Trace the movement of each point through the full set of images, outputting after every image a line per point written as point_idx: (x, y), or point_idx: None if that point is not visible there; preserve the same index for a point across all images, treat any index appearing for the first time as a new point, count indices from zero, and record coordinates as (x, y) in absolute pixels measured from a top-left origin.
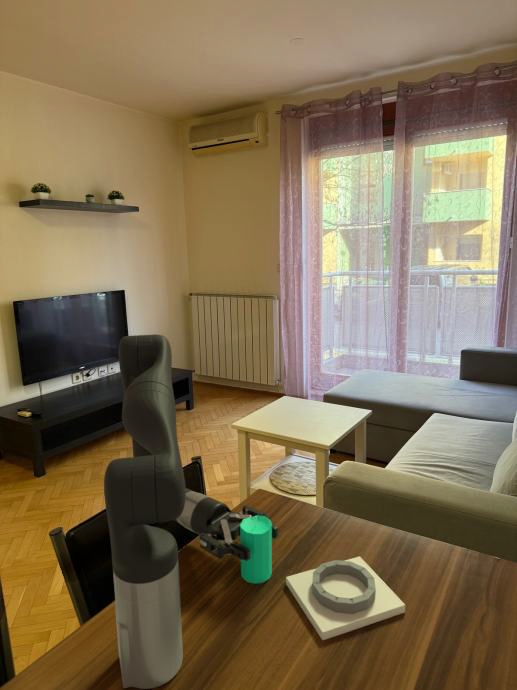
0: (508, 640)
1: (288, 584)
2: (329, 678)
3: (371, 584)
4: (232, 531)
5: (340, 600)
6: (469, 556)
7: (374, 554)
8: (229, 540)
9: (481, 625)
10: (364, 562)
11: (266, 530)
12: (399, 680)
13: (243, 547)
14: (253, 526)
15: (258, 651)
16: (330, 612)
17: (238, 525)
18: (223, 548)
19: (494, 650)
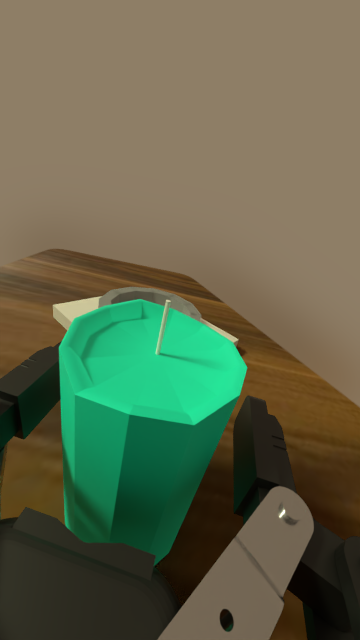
0: (149, 267)
1: None
2: (272, 343)
3: (145, 290)
4: (154, 575)
5: (194, 311)
6: (35, 255)
7: (26, 303)
8: (289, 507)
9: (140, 271)
10: (71, 302)
11: (182, 314)
12: (229, 308)
13: (260, 416)
14: (163, 362)
15: (319, 413)
16: None
17: (59, 549)
18: (341, 539)
19: (163, 273)
